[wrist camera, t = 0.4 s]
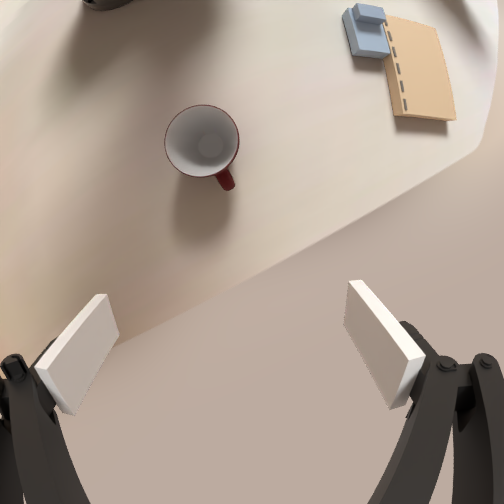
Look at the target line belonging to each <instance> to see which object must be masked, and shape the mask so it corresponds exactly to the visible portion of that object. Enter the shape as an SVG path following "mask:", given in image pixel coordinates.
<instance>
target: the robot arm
mask: <svg viewBox="0 0 504 504" xmlns="http://www.w3.org/2000/svg"><path fill="white" fill-rule="evenodd" d="M131 1H133V0H83V2H84V3H85V4H86V5H87V6H89V7H90V8H91V9H94V10H100V11H102V10H110V9H114V8H117V7H120V6H123V5H125V4H127V3H129V2H131ZM344 326H345V328H346V330H347V332H348V333H349V335H350V337H351V339H352V340H353V342H354V344H355V346H356V348H357V350H358V351H359V353H360V355H361V357H362V359H363V361H364V362H365V364H366V366H367V368H368V370H369V372H370V374H371V375H372V377H373V379H374V381H375V383H376V385H377V387H378V389H379V391H380V392H381V394H382V396H383V398H384V400H385V402H386V404H387V406H388V408H389V410H391V409H394V408H397V407H400V406H404V405H405V404H406V402H407V400H408V398H409V396H410V397H411V399H412V400H413V404H412V406H411V408H410V410H409V412H408V414H407V416H406V418H407V420H406V422H405V425H404V428H403V430H402V433H401V436H400V438H399V441H398V443H397V446H396V448H395V450H394V452H393V455H392V457H391V460H390V462H389V463H388V466H387V468H386V470H385V472H384V474H383V476H382V478H381V480H380V482H379V484H378V486H377V487H376V489H375V491H374V493H373V495H372V497H371V499H370V500H369V502H368V504H429V501H430V499H431V496H432V493H433V491H434V488H435V485H436V482H437V479H438V476H439V473H440V470H441V467H442V463H443V459H444V456H445V452H446V448H447V444H448V440H449V436H450V431H451V426H453V443H454V444H453V445H454V476H453V495H452V504H504V378H503V375H502V372H501V370H500V367H499V364H498V362H497V360H496V359H495V358H494V357H493V356H491V355H489V354H485V353H481V354H477V355H476V356H475V358H474V359H473V362H472V364H460V365H458V363H457V362H456V361H455V360H454V359H453V358H451V357H448V356H439V355H438V354H437V353H436V352H435V350H434V349H433V348H432V347H431V346H430V345H429V343H428V342H427V341H426V340H425V339H424V338H423V336H422V335H421V334H419V332H418V331H417V329H416V328H415V327H414V326H413V325H411V324H409V323H408V322H406V321H401V322H398V321H397V320H396V319H395V317H394V316H393V315H392V314H391V313H390V312H389V310H388V309H386V307H385V306H384V305H383V304H382V302H381V301H380V300H379V299H378V298H377V297H376V296H375V294H374V293H373V292H372V291H371V290H370V289H369V288H368V287H367V286H366V285H365V283H364V282H363V281H362V280H355V281H348V290H347V300H346V309H345V317H344ZM119 335H120V334H119V331H118V328H117V325H116V322H115V318H114V315H113V312H112V309H111V305H110V302H109V298H108V295H107V294H96V295H95V296H94V297H93V298H92V299H91V300H90V301H89V302H88V304H87V305H86V306H85V307H84V308H83V309H82V310H81V311H80V312H79V314H78V315H77V316H76V317H75V318H74V319H73V320H72V322H71V323H70V324H69V325H68V326H67V327H66V328H65V330H64V331H63V332H62V333H61V334H60V335H59V336H58V337H57V338H55V339H54V340H52V341H51V342H50V343H49V344H48V346H47V347H46V349H44V350H43V352H42V354H40V355H39V357H38V358H37V359H36V360H35V362H34V363H33V364H32V365H31V367H30V368H28V367H27V365H26V363H25V361H24V359H23V357H22V356H21V355H20V354H11V355H9V356H7V357H6V358H5V359H4V360H3V361H2V362H1V365H0V367H1V369H2V371H3V372H4V374H5V376H6V378H7V379H2V378H1V376H0V413H1V415H2V418H1V419H0V504H24V501H23V493H24V497H25V500H26V503H27V504H90V502H89V500H88V498H87V496H86V494H85V492H84V489H83V487H82V485H81V483H80V480H79V478H78V476H77V473H76V471H75V468H74V466H73V463H72V460H71V458H70V455H69V452H68V449H67V446H66V444H65V440H64V438H63V434H62V431H61V427H60V424H59V421H58V417H57V414H56V412H55V410H54V407H55V405H56V404H57V406H58V407H59V409H60V410H61V411H62V412H63V413H66V414H70V415H74V416H75V414H76V412H77V410H78V409H79V407H80V405H81V403H82V400H83V399H84V397H85V395H86V393H87V391H88V389H89V388H90V386H91V384H92V382H93V380H94V378H95V377H96V375H97V373H98V371H99V369H100V368H101V366H102V364H103V362H104V360H105V359H106V357H107V355H108V354H109V352H110V350H111V349H112V347H113V345H114V343H115V342H116V340H117V338H118V337H119Z"/></svg>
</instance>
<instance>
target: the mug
mask: <svg viewBox="0 0 504 504" xmlns="http://www.w3.org/2000/svg"><path fill="white" fill-rule="evenodd" d="M164 143H165V151H166V154H167V157H168V159H169V161H170V162H171V164H172V165H173V166H174V167H175V168H176V169H177V170H179V171H180V172H182V173H183V174H186V175H188V176H192V177H208V176H213V175H215V176H216V178H217V180H218V182H219V183H220V185H221V186H222V188H223V189H224V190H226V191H229V190H231V189H233V188H234V187H235V183H234V180H233V178H232V176H231V174H230V172H229V171H228V169H227V168H228V166H229V165H230V164H231V163H232V162H233V160H234V159H235V157H236V155H237V152H238V149H239V133H238V129H237V126H236V124H235V122H234V121H233V119H232V118H231V117H230V116H229V115H228V114H227V113H226V112H225V111H223V110H221V109H220V108H217V107H214V106H210V105H196V106H192V107H189V108H187V109H185V110H183V111H182V112H180V113H179V114H178V115H177V116H176V117H175V118H174V119H173V120H172V121H171V123H170V124H169V126H168V128H167V131H166V134H165V142H164Z"/></svg>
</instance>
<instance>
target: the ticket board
mask: <svg viewBox="0 0 504 504" xmlns="http://www.w3.org/2000/svg"><path fill="white" fill-rule="evenodd" d="M385 16H386V19H387V20H386V21H385V22H383V23H382V25H383V28H384V31H385V35H386V38H387V42H388V46H389V49H390V54H389V55H387V56H386V57H384V58H383V61H384V65H385V70H386V75H387V80H388V85H389V90H390V95H391V101H392V108H393V114H394V116H405V117H417V118H426V119H435V120H442V121H453V120H456V112H455V106H454V100H453V95H452V89H451V84H450V80H449V75H448V71H447V67H446V63H445V59H444V55H443V52H442V48H441V45H440V42H439V39H438V35H437V32H436V29H435V28H433V27H430V26H427V25H423V24H420V23H417V22H413V21H409V20H406V19H402V18H398V17H393V16H389V15H385Z"/></svg>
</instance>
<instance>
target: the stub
mask: <svg viewBox="0 0 504 504" xmlns="http://www.w3.org/2000/svg"><path fill="white" fill-rule="evenodd" d="M342 18H343V21H344V25H345V28H346V32H347V36H348V40H349V44H350V48H351V52H352V55H353V56H364V57H373V58H381V59H382V58H384V57H386V56H387V55H389V54H390V49H389V46H388V42H387V38H386V35H385V31H384V28H383V25H382V23H383V22H385V21H386V20H387V19H386V16H385V13H384V10H383V8H381V7H376V6H371V5H365V4H359V3H356V5H355V6H354V7H353V8H347V10H346V11H345V12H344V13H343V15H342Z"/></svg>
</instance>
